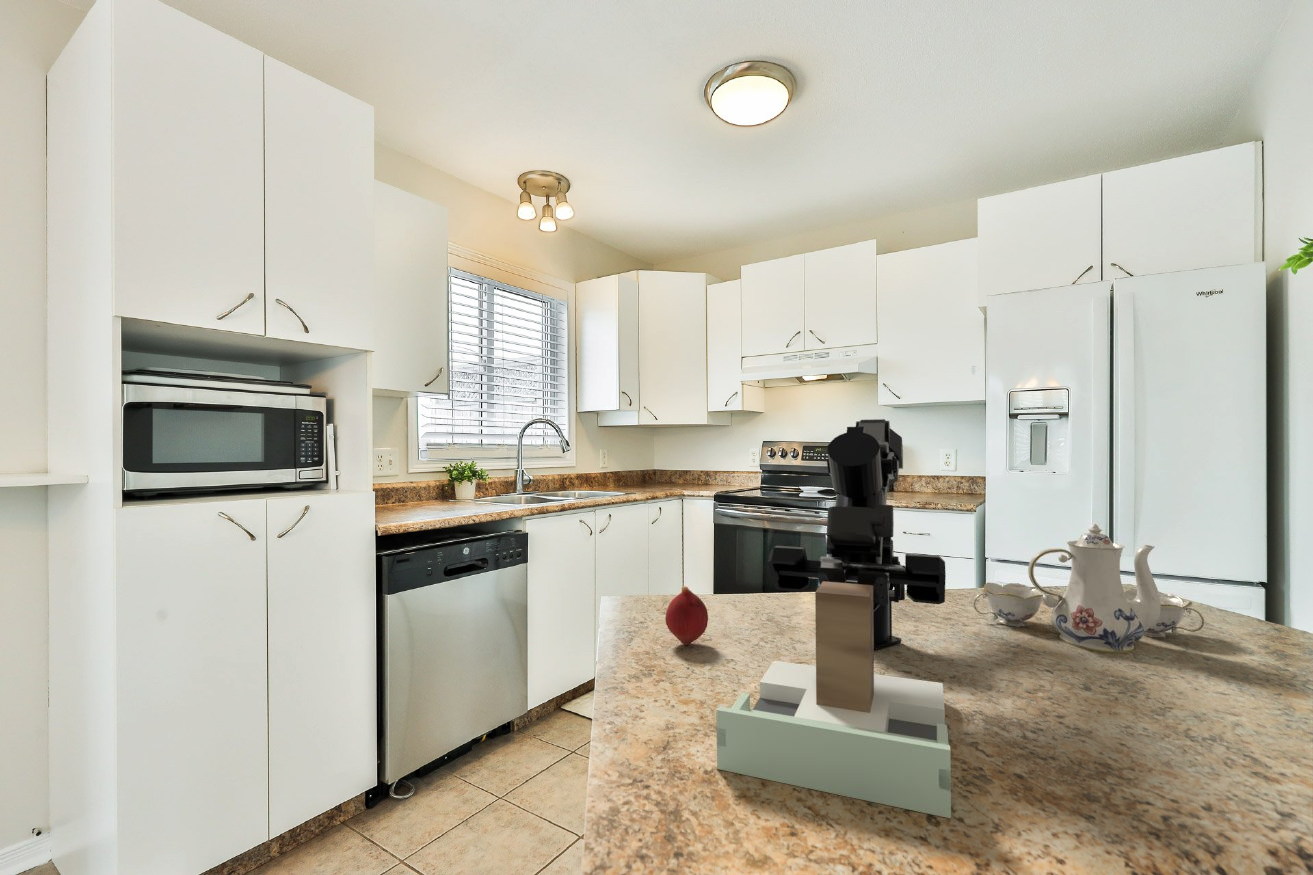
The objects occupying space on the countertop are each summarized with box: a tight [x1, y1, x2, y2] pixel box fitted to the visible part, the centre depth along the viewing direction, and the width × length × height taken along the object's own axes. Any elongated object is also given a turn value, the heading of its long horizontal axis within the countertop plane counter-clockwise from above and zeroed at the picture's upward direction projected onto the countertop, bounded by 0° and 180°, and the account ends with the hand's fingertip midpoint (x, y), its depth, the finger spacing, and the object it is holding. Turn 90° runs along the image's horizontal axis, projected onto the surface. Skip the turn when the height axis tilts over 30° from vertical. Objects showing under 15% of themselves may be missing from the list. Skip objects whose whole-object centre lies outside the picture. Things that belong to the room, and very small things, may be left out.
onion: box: [664, 585, 709, 646], centre depth 85 cm, size 6×6×8 cm
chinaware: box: [972, 523, 1205, 654], centre depth 88 cm, size 28×17×17 cm, turn 77°
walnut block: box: [814, 581, 875, 713], centre depth 62 cm, size 5×5×11 cm
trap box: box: [716, 660, 952, 819], centre depth 59 cm, size 22×18×5 cm
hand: (848, 641), depth 65 cm, fingers closed
